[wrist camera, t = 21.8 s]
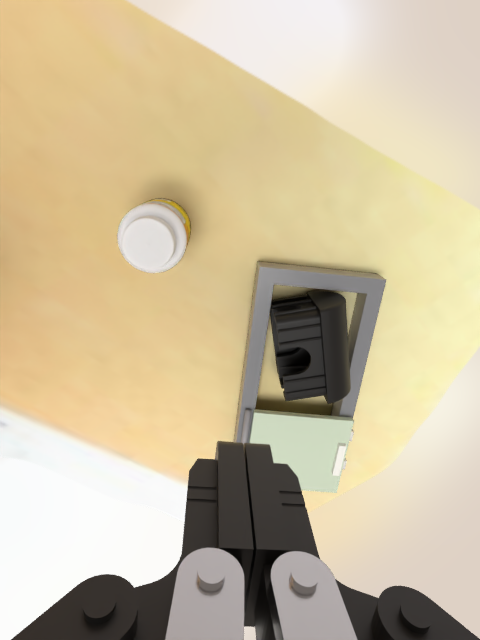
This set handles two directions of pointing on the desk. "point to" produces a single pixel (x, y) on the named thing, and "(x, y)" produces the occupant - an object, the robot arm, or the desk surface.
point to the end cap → (311, 345)
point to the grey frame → (317, 278)
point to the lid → (303, 444)
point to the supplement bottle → (154, 235)
